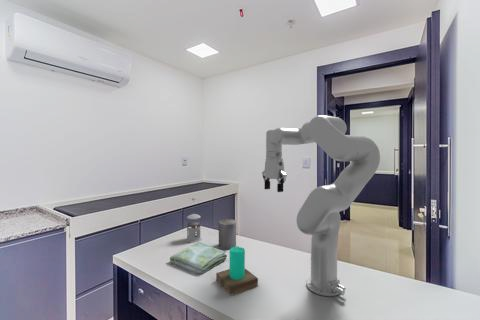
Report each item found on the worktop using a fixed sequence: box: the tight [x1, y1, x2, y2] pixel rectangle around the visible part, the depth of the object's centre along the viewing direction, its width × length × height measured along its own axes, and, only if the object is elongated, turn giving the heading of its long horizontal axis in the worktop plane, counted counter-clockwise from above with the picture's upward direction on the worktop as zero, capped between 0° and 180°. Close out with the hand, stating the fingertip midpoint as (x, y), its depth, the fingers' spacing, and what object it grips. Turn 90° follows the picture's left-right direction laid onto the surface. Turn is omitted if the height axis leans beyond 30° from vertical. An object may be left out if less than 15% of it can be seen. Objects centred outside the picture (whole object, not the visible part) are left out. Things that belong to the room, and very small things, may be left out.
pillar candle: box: [218, 218, 237, 250], centre depth 131 cm, size 10×10×15 cm
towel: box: [169, 241, 228, 275], centre depth 113 cm, size 18×21×5 cm
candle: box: [229, 245, 246, 280], centre depth 94 cm, size 6×6×12 cm
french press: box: [185, 197, 203, 244], centre depth 141 cm, size 10×12×25 cm
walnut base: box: [215, 268, 259, 296], centre depth 94 cm, size 12×12×3 cm
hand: (273, 190), depth 116 cm, fingers open, 9 cm apart
